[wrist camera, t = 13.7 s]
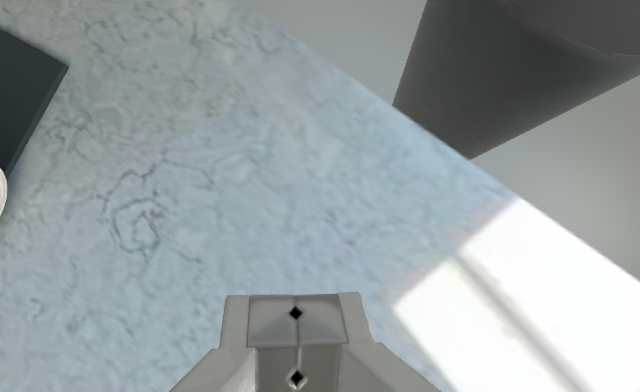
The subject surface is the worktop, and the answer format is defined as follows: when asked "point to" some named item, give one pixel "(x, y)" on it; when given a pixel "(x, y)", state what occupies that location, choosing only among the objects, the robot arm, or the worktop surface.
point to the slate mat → (23, 94)
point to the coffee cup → (2, 190)
